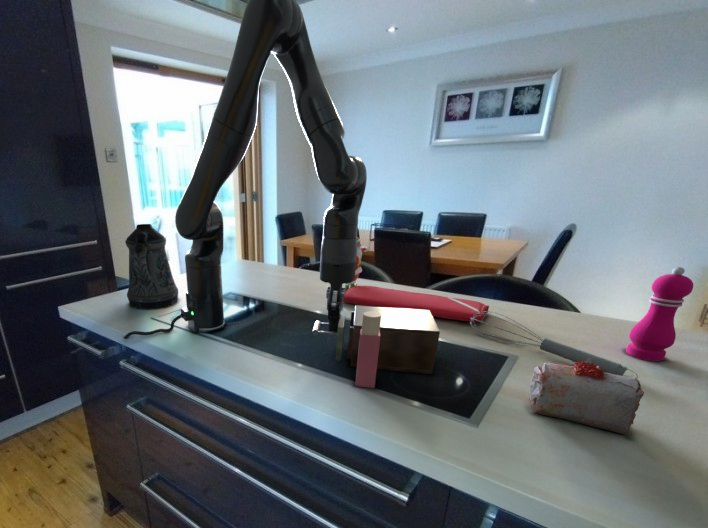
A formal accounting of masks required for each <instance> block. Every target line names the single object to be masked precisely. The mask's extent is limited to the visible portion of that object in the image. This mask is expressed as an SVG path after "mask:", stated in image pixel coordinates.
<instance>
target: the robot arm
mask: <svg viewBox="0 0 708 528" xmlns="http://www.w3.org/2000/svg"><path fill="white" fill-rule="evenodd" d="M271 54H273V55H274V57H275V59H276V60H277V61H278V63H279V64H280V66H281V68H282V69H283V71H284V73H285V75H286V77H287V79H288V83H289V85H290V88H291V94H292V98H293V104H294V108H295V112H296V116H297V119H298V122H299V124H300V127H301V129H302V131H303V134H304V135H305V138H306V140H307V142H308V144H309V146H310V148H311V153H312V159H313V163H314V167H315V172H316V175H317V178H318V180H319V182H320V184H321V186H322V187H323V189H324V190H325V191H327V192H328V193H329V194H332V198H331V203H330V206H329V207H328V208H327V209H326V210H325V212H324V215H323V225H322V240H321V247H320V262H319V263H320V264H319V280H320V281H321V282H323V283H326V284H327V283H328V284H329V285H330V286H327V289H326V293H325V295H326V296H325V298H326V300H327V301H326V310H327V320H328V323H329V326H328V332H337V331H338V323H339V320H340V317H341V314H340V313H341V311H342V310H343V309H344V303H345V302H344V298H345V291H346V288H345V287H343V284H344V283H345V284H347V283H351V282H353V281H354V280H355V270H356V258H357V238H358V229H359V214H360V211H361V208H362V205H363V200H364V196H365V192H366V188H367V180H368V177H367V175H368V174H367V167H366V165H365V162H364V161H363V160H362V159H361V158H360V157H358V156H355V155H349V154H348V152H347V150H346V146H345V143H344V138H345V136H346V135H345V133H346V132H345V128H344V124H343V122H342V120H341V117H340V115H339V112H338V111H337V108H336V106H335V104H334V102H333V99H332V98H331V95H330V93H329V90H328V88H327V87H326V84H325V81H324V80H323V77H322V74H321V72H320V69H319V67H318V64H317V61H316V58H315V55H314V51H313V48H312V43H311V40H310V37H309V33H308V29H307V25H306V21H305V18H304V14H303V11H302V9H301V6H300V4H299V3H298V1H296V0H248V1H247V2H246V6H245V9H244V11H243V14H242V19H241V22H240V26H239V30H238V35H237V39H236V42H235V47H234V50H233V55H232V58H231V61H230V64H229V68H228V71H227V75H226V77H225V80H224V84H223V87H222V90H221V93H220V96H219V99H218V102H217V105H216V107H215V110H214V112H213V115H212V118H211V120H210V123H209V126H208V129H207V131H206V135H205V139H204V142H203V145H202V148H201V151H200V153H199V156H198V159H197V161H196V164H195V167H194V169H193V173H192V175H191V178H190V180H189V183H188V185H187V187H186V189H185V191H184V193H183V195H182V197H181V199H180V202H179V204H178V207H177V208H176V212H175V216H174V218H175V219H174V223H175V227H176V231H177V232H178V234H179V236H181V237H182V238H183V239H185V240H188V241H192V244H191V246H190V248H189V250H188V251H187V252H186V254H185V256H184V263H185V277H186V287H187V291H186V292H185V300H186V302H185V303H186V306H184V307H180V314H178V315H177V316H175V317H174V318H173V319H172V320H171V323H170V327H169V328H158V329H157V328H156V329H154V330H150V331H139V330H133V331H129V332H128V333H126V334H125V335H124V336H123V339H129V338H130V337H131V336H135V335H138V336H153V335H156V334H159V333H170V332H172V331H173V330H174V328H175V324H176V322H177V321H179V320H180V319H182V320H184V321H185V322H187V323H188V325H187V326H188V327H189V328H190V330H192V331H193V332H194V333H211V332H212V333H213V332H216V331H220V330H222V329H224V328H225V314H224V313H225V311H224V293H223V275H222V273H223V272H222V256H223V253H224V217H223V213H222V209H221V207H220V206H219V205H218V203H217V202H215V200H216V197H217V196H218V194H219V192H220V190H221V188H222V186H223V185H224V184H225V182H226V181H227V180H228V179H229V178H230V177H231V176H232V174H233V173H234V172H235V170H236V169H237V167H239V166H240V163H241V162H242V160H243V159H244V157H245V155H246V153H247V151H248V148H249V146H250V143H251V142H252V141H251V140H252V138H253V136H254V133H255V130H256V126H257V123H258V122H257V120H258V111H259V110H258V109H259V91H260V84H261V80H262V77H263V74H264V71H265V68H266V65H267V63H268V60H269V58H270V56H271ZM345 284H344V285H345Z"/></svg>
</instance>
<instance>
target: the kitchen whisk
mask: <svg viewBox="0 0 708 528" xmlns="http://www.w3.org/2000/svg"><path fill="white" fill-rule="evenodd" d="M483 312H488V313H487V314H486V313H483V314H486V315H480V316H485V317H488V316H489V317H491V318H494V319H498V320H501V321H503V322H506V323H509V324H511V325H512V326H514V327H516V328H518V329H520V330H522V331H524V332H526V333H528V334H529V335H531V336H533V337H534V338H536V339H538V340H535V339H532V338H530V337H527V336H524V335H521V334H519V333H516V332H513V331H510V330H508V329H506V328H505V329H504V328H502V327H500V326H496V325H493V324H491V323H487V322H484V321H483V320H482V321H481V324H485V325H487V326H490V327H492V328H496V329H499V330H501V331H504V332H506V333H510V334H513V335H515V336H518V337H522V338H524V339H527V340H530V341H533V342H536V343H532V342H531V343H530V342H525V341H519V340H514V339H511V338H504V337H501V336H497V335H494V334H491V333H488V332H486V331H484V330H481V328H480V327H478V326H477V325H476V324H474V326H475V327H474V326H473V323H475V322H474V320H476V319H474V318H475V316H476V315H477V314H479V313H481V312H479V313H477V314H475V315H474V317H473V318H471V319H472V320H471V321H473V322H471V321H469V324H470V326H471V328H472V330H473V332H475V334H478V335H479V336H481V337H483V338H485V339H488V340H492V341H495V342H498V340H497V339H501V340H499V342H500V343H505V344H508V341H509V344H511V345H515V343H516V345H517V346H522V345H524V346H527V347H532V346H535V347H538V348H539V350H541V351H544V352H547V353H550V354H552V355H555V356H557V357H561V358H563V359H566V360H569V361H571V362H574V363H575V362H578V361H579V362H582V361H586V360H587V359H591V360H592V363H594V365H597V366H600V367H601V368H602V369H603V372H606V373H611V374H615V375H620V376H625V375H624V374H626V371H627V370H628V371H630V372H632V373H634V374H635V376H636V377H635V378H636V379H637V380H638V378H639V377H638V374H637V373H636V372H635V371H633V370H632V369H630V368H628V367H627V366H624V365H622V364H621V363H618V362H616V361H612V360H609V359H606V358H604V357H601V356H598V355H595V354H592V353H590V352H588V351H587V352H586V351H583V350H581V349H578V348H575V347H572V346H570V345H566V344H563V343H560V342H557V341H554V340H551V339H549V338H542V337H541V336H539V335H537V334H536V333H535V332H533V331H532V330H530V329H529V328H527V327H526V326H524V325H522V324H521V323H519V322H517V321H515V320H514V319H512V318H510V317H508V316H506V315H503V314H500V313H498V312H494V311H489V310H488V311H483ZM490 313H491V314H490ZM492 313H494V314H497V315H500V316H502V317H504V318H506V319H509V320H511V321H512V322H514V323H515V324H514V323H512V322H510V321H507V320H506V319H504V318H500V317H498V316H497V315H493V314H492ZM476 317H477V316H476ZM476 321H479V320H476ZM478 323H480V321H479V322H478ZM516 324H518V325H520V326H518V325H516ZM522 327H523V328H522ZM525 329H526V330H525ZM477 331H478V332H477ZM479 332H480V333H484V334H486V335H489V336H492V337H493V338H489V337H487V336H485V335H482V334H480V333H479ZM494 338H497V339H494ZM502 340H504V341H502ZM539 340H540V341H539ZM537 343H538V344H537Z"/></svg>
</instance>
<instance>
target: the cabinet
mask: <svg viewBox="0 0 708 528" xmlns="http://www.w3.org/2000/svg"><path fill="white" fill-rule="evenodd" d="M370 311H371V312H378V313H380V314H381V321H380V345H379V353H378V362H377V370H381V371H383V370H384V371H393V372H404V373H411V374H412V373H414V374H423V375H433V373H434V367H435V362H436V356H437V352H438V351H437V350H438V345H439V341H440V333H441V331H440V329H439V326H438V325H437V323H436V321H435V318H434V316H432V314H431V312H430V310H419V309H403V308H387V307H371V306H364V305H355V306H354V312H355V315H354V329H353V341H352V352H351V359H350V363H349V366H350V367H352V368H357V361H358V350H359V339H360V329H362V321H363V313H364V312H370Z"/></svg>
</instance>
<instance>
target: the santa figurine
mask: <svg viewBox="0 0 708 528" xmlns="http://www.w3.org/2000/svg"><path fill="white" fill-rule="evenodd" d="M368 251H370V248H369V247H368V246H364V245H363V246H362V244H361V239H360V238H359V237H357V258H356V270H355V280H354V281H353V282H351V283H347V284H345V283H344V288H346V291H347V290H348V289H350V288H353V287H355V286H358V284H356V282H357V279H358V278H359V276H360V273H362V272H363V268H362V267H361V266H362V259H363V252H364V253H366V252H368Z"/></svg>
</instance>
